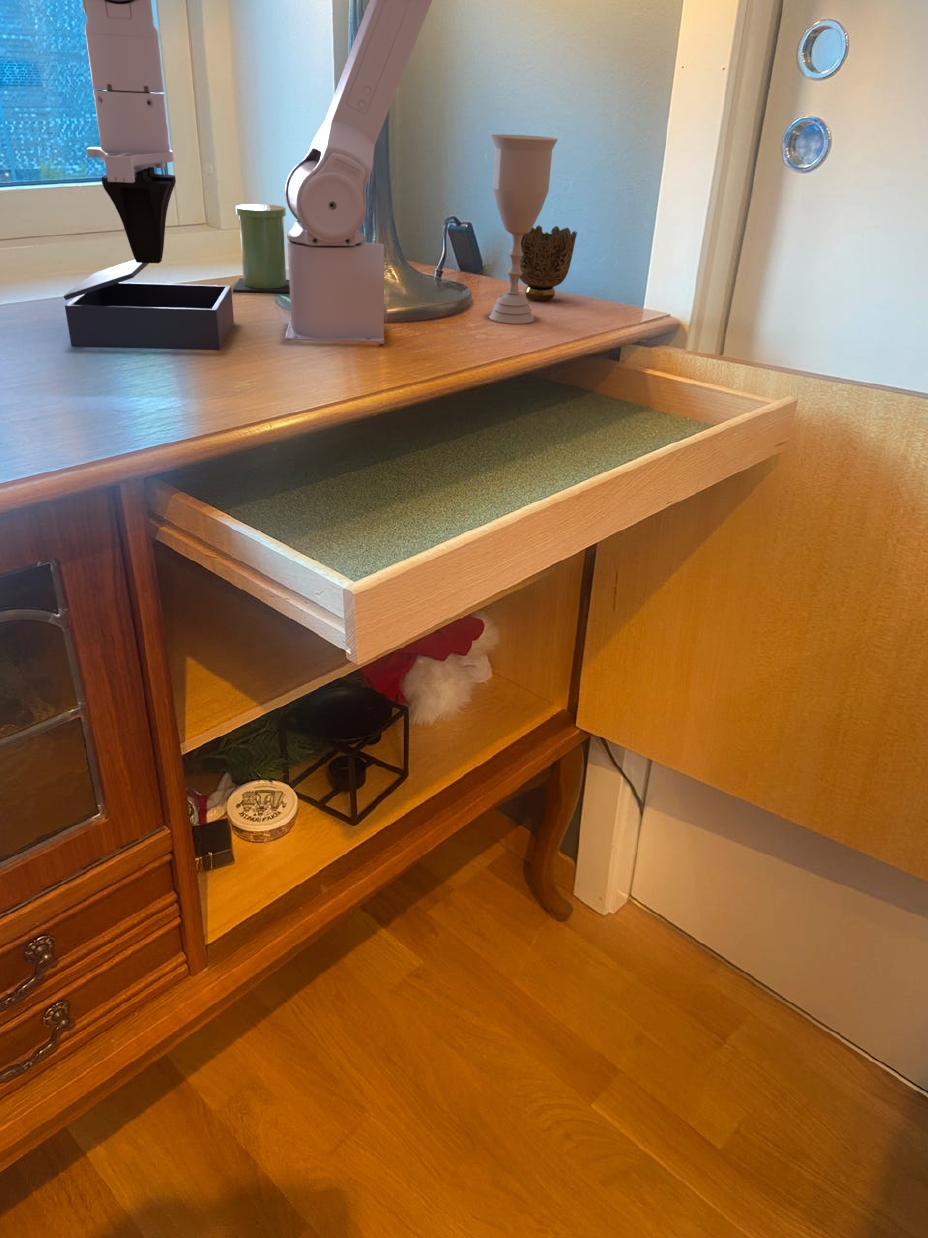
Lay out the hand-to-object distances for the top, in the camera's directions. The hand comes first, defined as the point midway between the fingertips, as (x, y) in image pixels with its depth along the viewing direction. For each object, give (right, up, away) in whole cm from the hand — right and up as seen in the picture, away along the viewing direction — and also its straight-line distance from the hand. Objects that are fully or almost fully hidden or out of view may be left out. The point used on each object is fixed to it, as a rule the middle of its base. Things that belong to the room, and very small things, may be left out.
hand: (149, 261), depth 85 cm
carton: (0, -6, +3) cm, 7 cm away
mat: (+5, +7, +26) cm, 27 cm away
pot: (+5, +7, +25) cm, 27 cm away
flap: (-3, -1, 0) cm, 4 cm away
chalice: (+34, +1, +19) cm, 39 cm away
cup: (+38, +6, +28) cm, 48 cm away
